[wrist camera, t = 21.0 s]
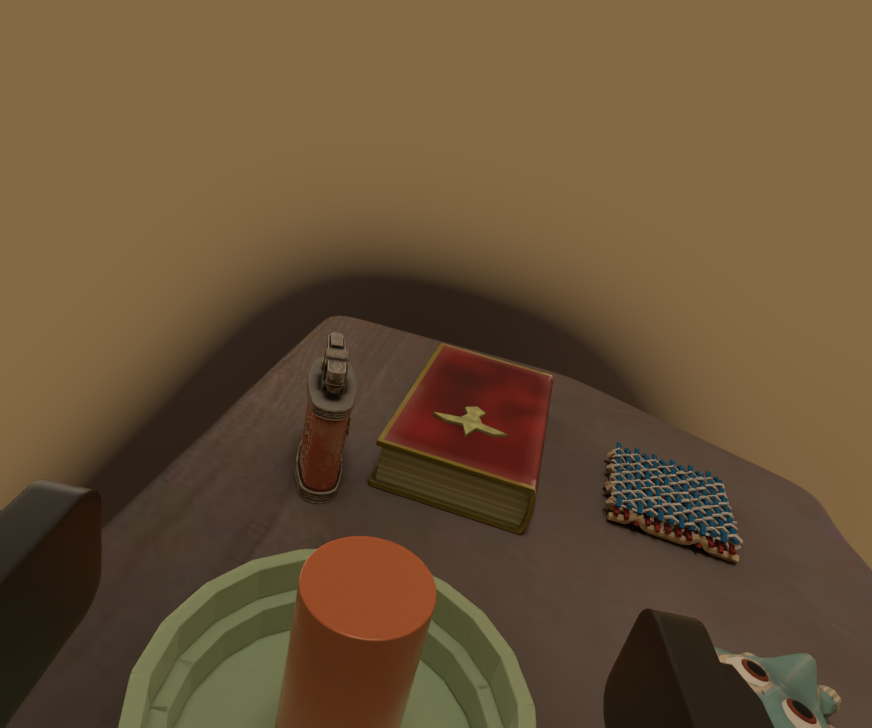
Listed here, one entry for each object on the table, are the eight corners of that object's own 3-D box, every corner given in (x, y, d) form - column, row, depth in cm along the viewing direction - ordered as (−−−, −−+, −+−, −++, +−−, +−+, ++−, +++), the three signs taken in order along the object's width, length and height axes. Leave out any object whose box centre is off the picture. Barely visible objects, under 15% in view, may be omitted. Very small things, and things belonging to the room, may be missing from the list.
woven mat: (601, 523, 48) (609, 502, 47) (603, 456, 58) (611, 438, 57) (739, 570, 47) (750, 549, 46) (718, 493, 56) (727, 475, 55)
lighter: (341, 505, 44) (365, 379, 39) (291, 501, 43) (311, 372, 39) (340, 441, 51) (360, 329, 47) (297, 437, 50) (314, 322, 46)
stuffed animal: (966, 712, 31) (899, 797, 23) (884, 810, 33) (797, 919, 25) (767, 564, 39) (666, 592, 31) (710, 652, 41) (602, 698, 33)
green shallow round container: (12, 837, 23) (3, 759, 21) (282, 567, 37) (291, 507, 35) (419, 1146, 18) (453, 1081, 16) (546, 702, 33) (572, 641, 31)
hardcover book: (545, 410, 64) (557, 373, 62) (524, 536, 45) (541, 488, 43) (433, 376, 65) (441, 340, 64) (368, 484, 46) (377, 437, 45)
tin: (244, 773, 26) (269, 595, 22) (314, 679, 31) (345, 518, 26) (352, 842, 25) (400, 666, 20) (408, 733, 29) (457, 571, 25)
